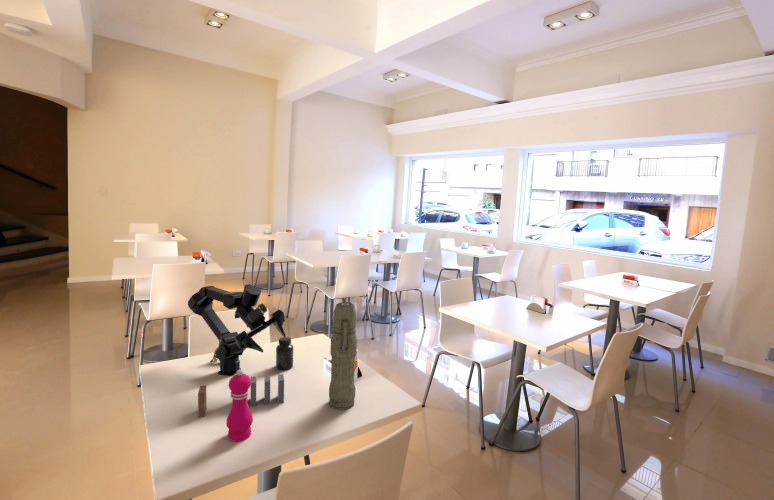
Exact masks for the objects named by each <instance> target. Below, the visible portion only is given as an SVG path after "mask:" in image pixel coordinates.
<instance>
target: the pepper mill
mask: <svg viewBox="0 0 774 500" xmlns="http://www.w3.org/2000/svg"><path fill="white" fill-rule="evenodd" d="M250 388H251V377H249V375H248V374H245V373H244V371H243V369H242V368H241V369H239V370H238V371H237V373H235V374H234V375H232V376H231V377H230V378H229V382H228V389H229V390H230V398H231V399H232V400H231V401H232V405H231V409H230V410H229V413H228V415H227V418H226V423H225V424H226V428H227V429H228V432H227V435H228V439H229V440H230V441H233V442H242V441H245V440H247V439H249V438H250V436H251V435H252V427H251V426H252V424H253V421H254V417H253V416H254V415H253V414H252V411H251V410H250V407H249V404H248V397H249V395H250Z"/></svg>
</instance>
